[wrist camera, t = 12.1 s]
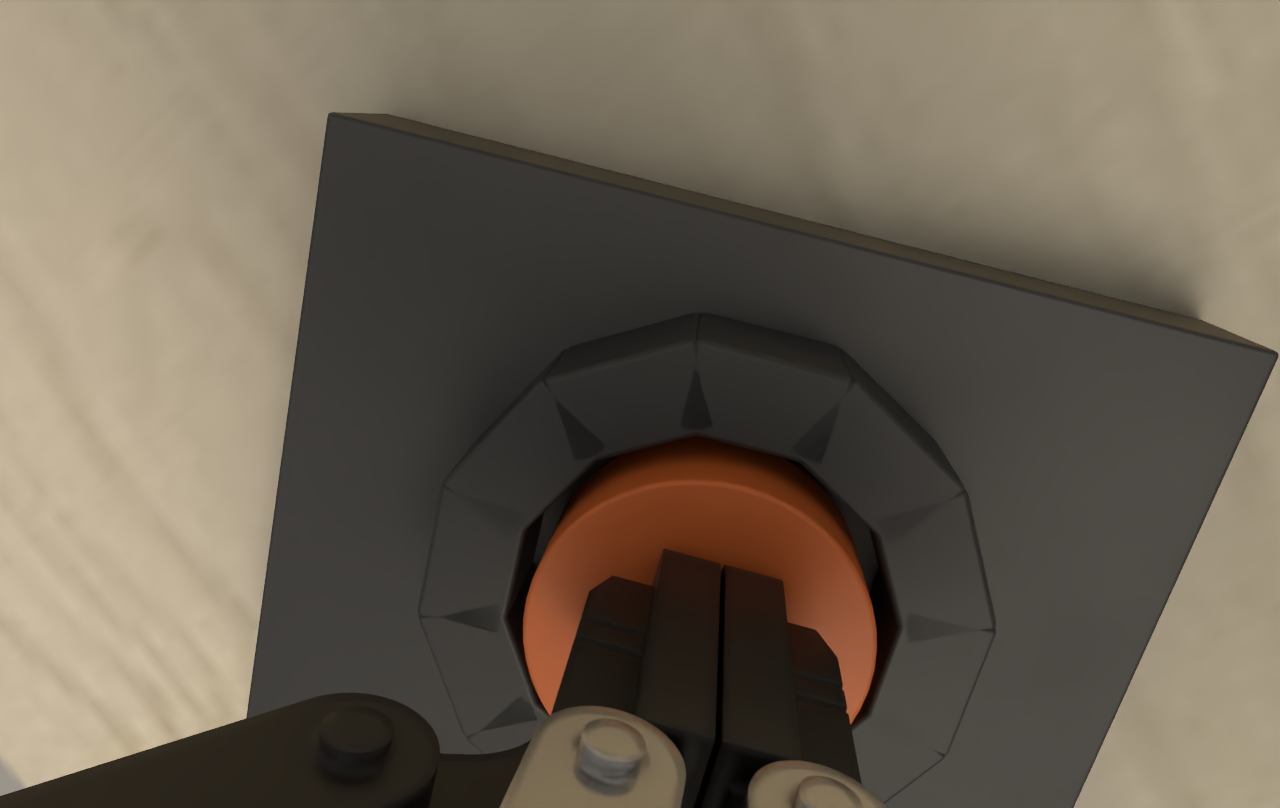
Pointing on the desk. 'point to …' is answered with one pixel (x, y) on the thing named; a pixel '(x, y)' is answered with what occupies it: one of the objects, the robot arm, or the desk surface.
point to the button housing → (735, 414)
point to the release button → (703, 548)
